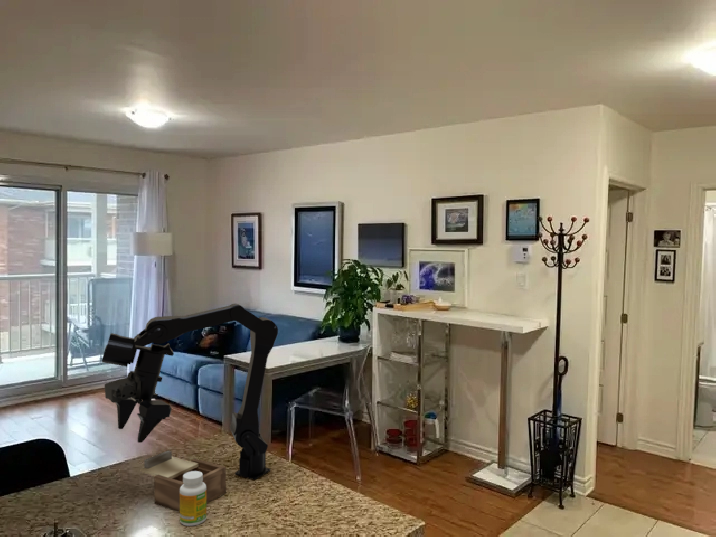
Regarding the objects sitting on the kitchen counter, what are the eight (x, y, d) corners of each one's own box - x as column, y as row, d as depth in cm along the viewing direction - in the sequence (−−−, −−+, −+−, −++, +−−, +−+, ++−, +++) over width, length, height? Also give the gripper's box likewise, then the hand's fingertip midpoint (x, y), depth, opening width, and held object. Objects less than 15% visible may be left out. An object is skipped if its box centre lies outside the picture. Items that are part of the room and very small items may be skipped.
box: (194, 483, 134) (194, 458, 134) (225, 493, 129) (225, 466, 129) (154, 503, 123) (154, 476, 123) (186, 514, 118) (186, 486, 118)
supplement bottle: (198, 527, 113) (198, 481, 112) (174, 525, 114) (174, 478, 114) (210, 515, 118) (210, 470, 118) (187, 512, 119) (187, 468, 119)
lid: (171, 459, 135) (171, 449, 135) (198, 466, 131) (198, 456, 131) (140, 472, 127) (140, 461, 127) (167, 480, 123) (167, 469, 123)
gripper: (96, 357, 130) (78, 422, 129) (135, 379, 118) (116, 452, 117) (139, 360, 138) (123, 422, 137) (180, 381, 126) (162, 449, 125)
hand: (129, 435), depth 129 cm, fingers open, 9 cm apart
